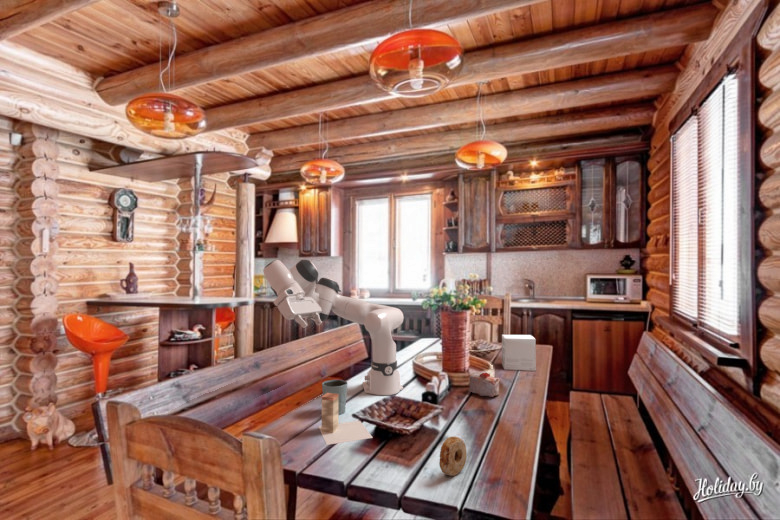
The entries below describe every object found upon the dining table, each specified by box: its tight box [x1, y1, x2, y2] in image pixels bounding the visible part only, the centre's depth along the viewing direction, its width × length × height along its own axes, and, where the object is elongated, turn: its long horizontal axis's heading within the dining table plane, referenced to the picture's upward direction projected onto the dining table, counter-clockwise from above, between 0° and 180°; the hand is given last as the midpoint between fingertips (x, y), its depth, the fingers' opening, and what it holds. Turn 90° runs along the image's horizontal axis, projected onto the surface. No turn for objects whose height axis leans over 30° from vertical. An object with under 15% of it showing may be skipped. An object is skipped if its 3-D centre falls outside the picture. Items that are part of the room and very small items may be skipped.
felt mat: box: [317, 420, 373, 446], centre depth 145 cm, size 16×16×1 cm
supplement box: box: [501, 334, 537, 372], centre depth 236 cm, size 17×13×18 cm
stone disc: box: [439, 436, 468, 477], centre depth 118 cm, size 10×4×10 cm, turn 136°
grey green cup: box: [321, 379, 348, 416], centre depth 165 cm, size 10×10×12 cm
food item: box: [468, 372, 501, 398], centre depth 188 cm, size 14×8×10 cm, turn 51°
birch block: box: [321, 393, 339, 433], centre depth 147 cm, size 4×4×12 cm
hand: (313, 325), depth 149 cm, fingers open, 8 cm apart
